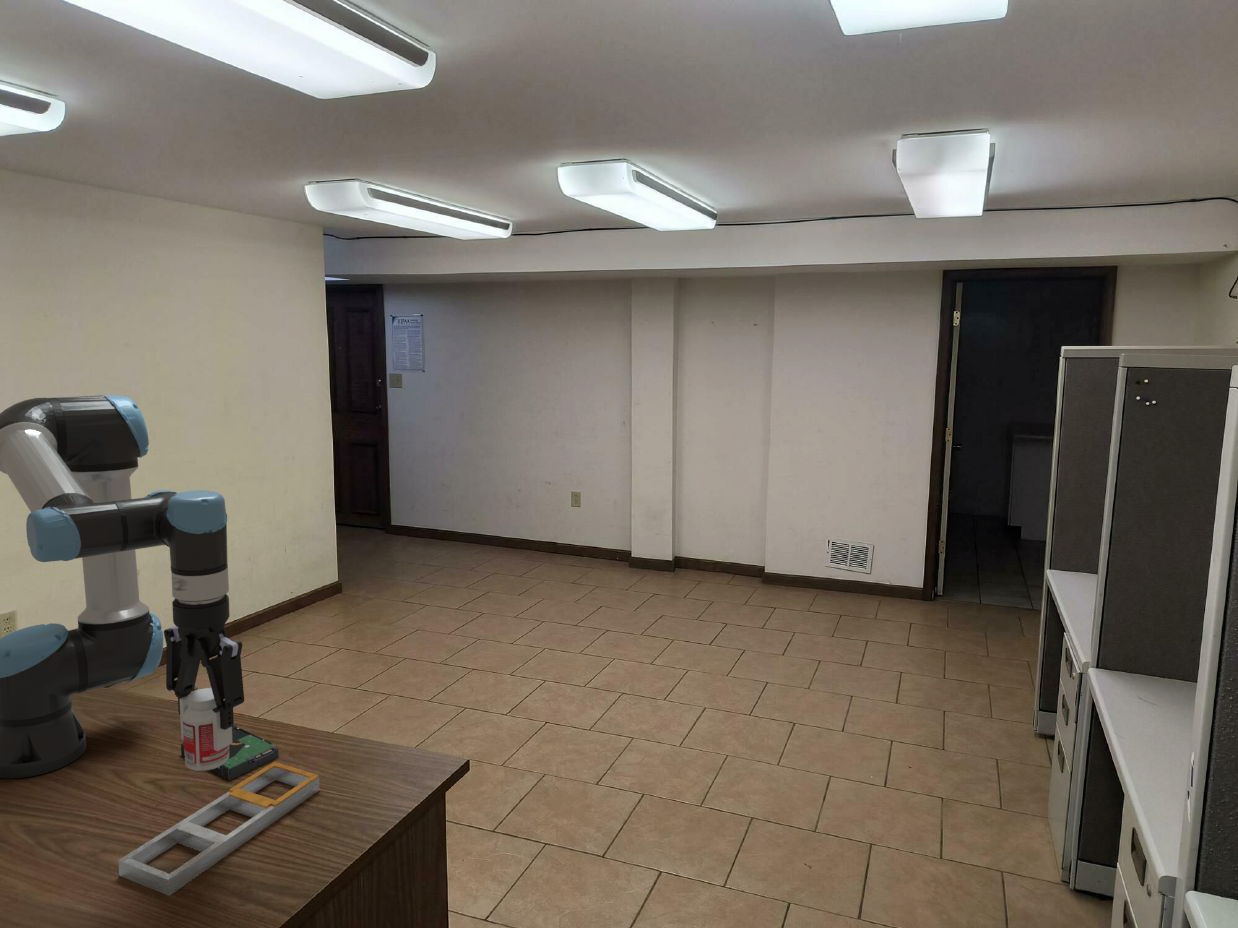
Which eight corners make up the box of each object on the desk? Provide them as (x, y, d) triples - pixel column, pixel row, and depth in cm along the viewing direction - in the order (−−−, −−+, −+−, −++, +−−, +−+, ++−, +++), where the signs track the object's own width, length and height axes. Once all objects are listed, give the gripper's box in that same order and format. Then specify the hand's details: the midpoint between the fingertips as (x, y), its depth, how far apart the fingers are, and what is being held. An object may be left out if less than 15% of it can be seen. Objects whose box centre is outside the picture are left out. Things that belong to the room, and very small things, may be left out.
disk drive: (179, 758, 155) (229, 783, 148) (179, 744, 155) (229, 768, 147) (230, 735, 164) (280, 758, 157) (230, 722, 164) (279, 744, 156)
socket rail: (119, 875, 122) (118, 858, 122) (274, 775, 150) (274, 761, 149) (169, 895, 119) (168, 877, 118) (319, 789, 146) (319, 775, 146)
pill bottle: (236, 752, 132) (234, 686, 130) (218, 773, 126) (215, 704, 124) (196, 750, 132) (194, 684, 130) (176, 771, 126) (173, 702, 124)
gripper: (132, 591, 125) (140, 736, 129) (227, 616, 117) (232, 768, 121) (177, 578, 132) (183, 716, 136) (269, 600, 124) (273, 745, 128)
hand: (206, 740), depth 128 cm, fingers closed on pill bottle, 6 cm apart
